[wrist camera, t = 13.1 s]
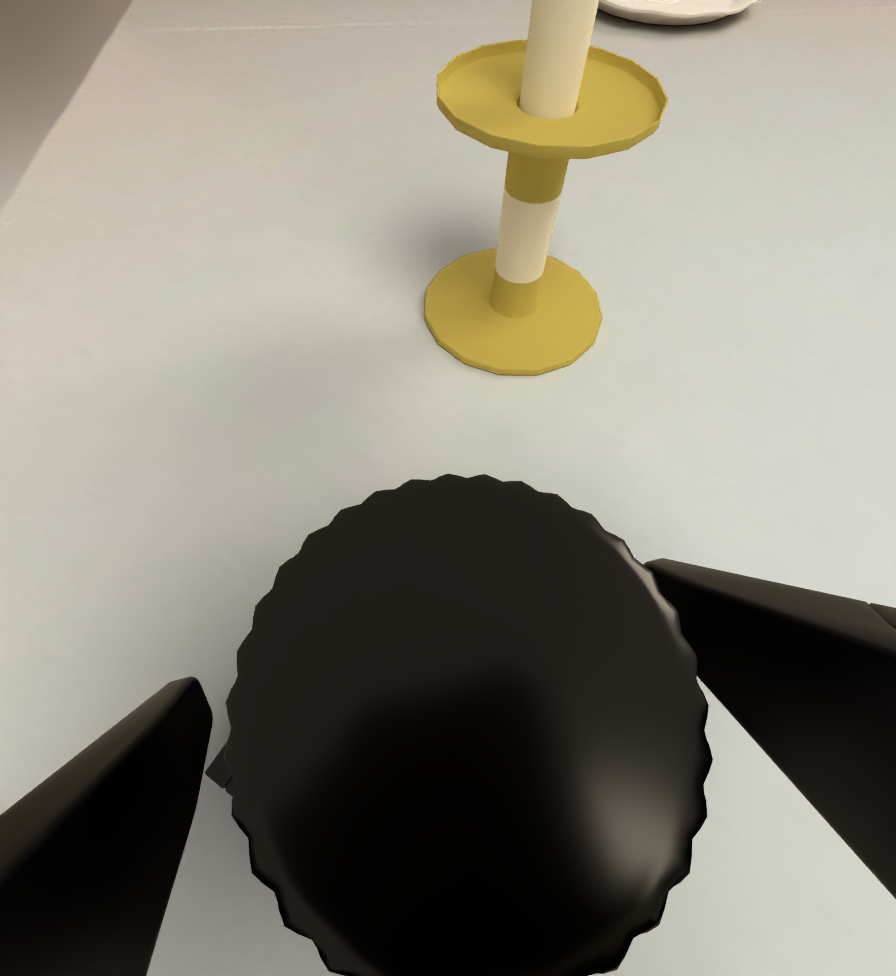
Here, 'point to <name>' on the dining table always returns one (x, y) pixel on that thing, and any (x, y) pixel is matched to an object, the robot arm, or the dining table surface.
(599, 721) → the supplement bottle
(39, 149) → the dining table surface
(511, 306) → the candle
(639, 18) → the plate
